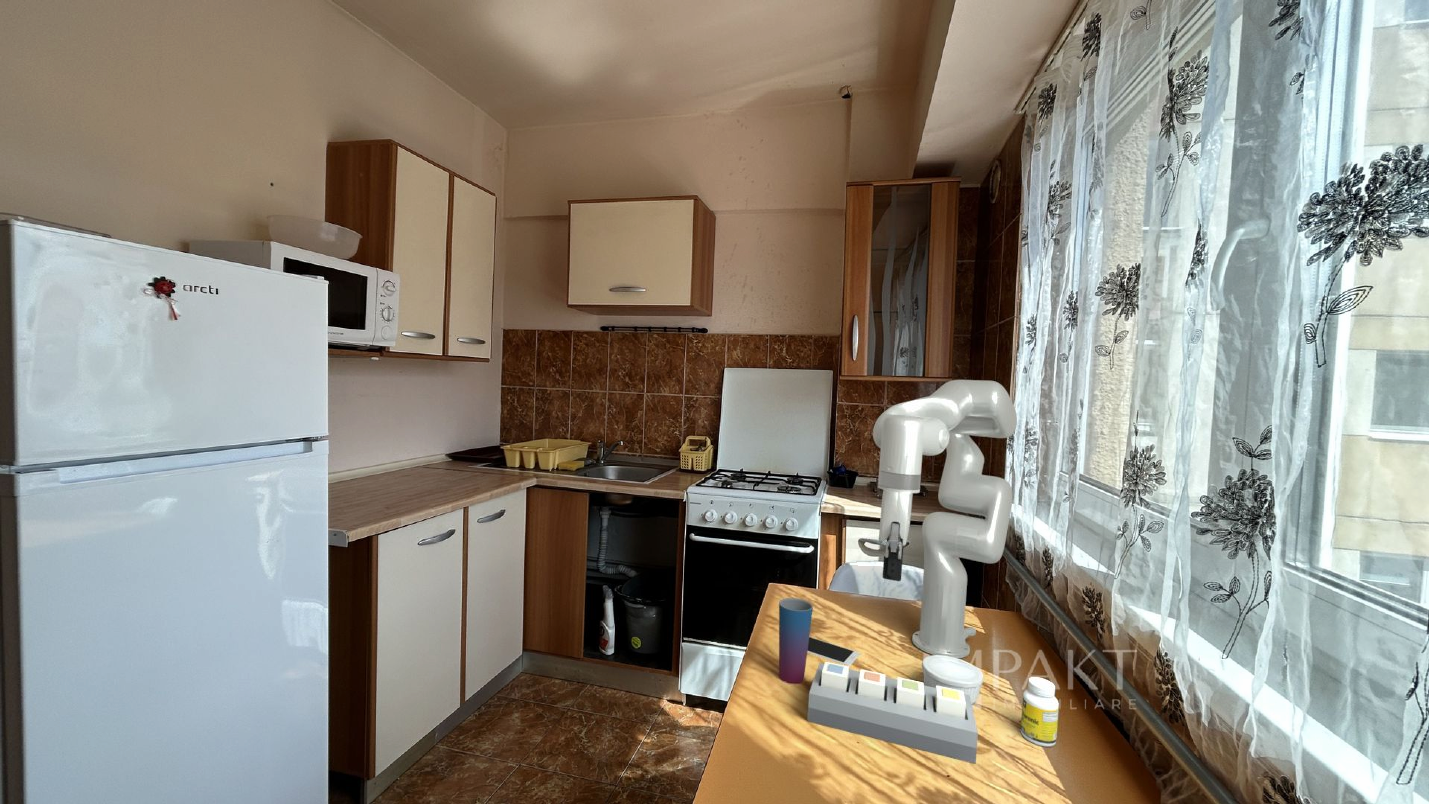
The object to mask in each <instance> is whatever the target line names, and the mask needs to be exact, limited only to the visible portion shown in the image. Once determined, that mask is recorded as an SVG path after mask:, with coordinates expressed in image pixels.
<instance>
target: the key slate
mask: <svg viewBox="0 0 1429 804" xmlns="http://www.w3.org/2000/svg"><path fill="white" fill-rule="evenodd" d="M823 664H824V667H823V671H822V679H821V686H822V687H827V688H831V689H835V690H840V691H844V692H846V690H847V685H848V676H849V669H850V666H847V665H844V664H840V663H833V662H829V661H824V663H823Z"/></svg>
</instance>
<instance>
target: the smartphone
mask: <svg viewBox="0 0 1429 804" xmlns="http://www.w3.org/2000/svg"><path fill="white" fill-rule="evenodd" d="M807 654H811V655H814V656H816V655H817V657H820V658H823V659H826V660H830V661H831V662H835V663H837V664H840V665H844V666H848V667H850V666H852V664H854V662H855V661H856V660H857V659H858V658H859V656H860V655H861V653H860V652H859V651H856V650H852V649H849V648H847V647H843V646H840V645H837V644H833V643H830V642H827V641H824V640H821V639H818V638H815V637H811V636H809V642H808V650H807ZM857 657H858V658H857ZM856 658H857V659H856Z"/></svg>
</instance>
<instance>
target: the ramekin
mask: <svg viewBox="0 0 1429 804" xmlns="http://www.w3.org/2000/svg"><path fill="white" fill-rule="evenodd" d="M921 667H922V672H923V683H924V686H929V687H933V688H936V685H937V686H942V687H946V688H951V689H956V690H960V691H963V692H964V694H966V695H970V699H971V704H972V705H974V703H976V702H977V700H978V698H979V693H980V691H981V688H982V684H983V683H984V674H983V672H982V671H981V670H980V669H979V668H978V666H976V665H974V664H971V663H970V662H968V661H966V660H963V659H962V658H954V657H949V656H943V655H929V656H928V655H927V656H926V657H924V658H923V660H922V662H921Z"/></svg>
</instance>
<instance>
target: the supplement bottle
mask: <svg viewBox="0 0 1429 804" xmlns="http://www.w3.org/2000/svg"><path fill="white" fill-rule="evenodd" d="M1027 685H1028V686H1027V688H1028V689H1025V690H1024V691H1023V692H1022V693H1023V694H1022V705H1021V707H1022V708H1021V721H1020V733H1021V735H1022V736H1023V738H1025V740H1027V741H1029V742H1031V743H1032V744H1035V745H1037V746H1040V747H1044V748H1045V747H1054V746H1055V745H1056V743H1057V737H1058V725H1059V724H1058V723H1059V722H1058V721H1059V709H1060V707H1059V705H1060V704H1059V700H1058V699H1057V697H1056V696H1055V693H1056V686H1055V684H1054V683H1053V682H1051V681H1050V680H1048V679H1045V678H1042V677H1040V676H1039V677H1038V676H1031V677H1029V678H1028V684H1027Z"/></svg>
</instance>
